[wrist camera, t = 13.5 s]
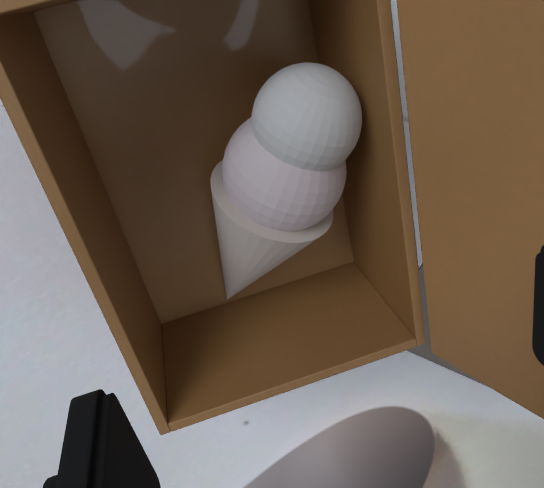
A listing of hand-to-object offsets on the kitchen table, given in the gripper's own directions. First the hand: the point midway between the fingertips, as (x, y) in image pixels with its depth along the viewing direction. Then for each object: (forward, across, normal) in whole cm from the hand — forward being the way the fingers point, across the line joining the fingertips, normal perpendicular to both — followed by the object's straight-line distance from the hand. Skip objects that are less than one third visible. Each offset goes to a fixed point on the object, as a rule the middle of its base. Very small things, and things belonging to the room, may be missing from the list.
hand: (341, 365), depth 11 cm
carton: (+18, 0, +1) cm, 18 cm away
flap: (+6, -7, 0) cm, 9 cm away
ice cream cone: (+16, 0, 0) cm, 16 cm away
